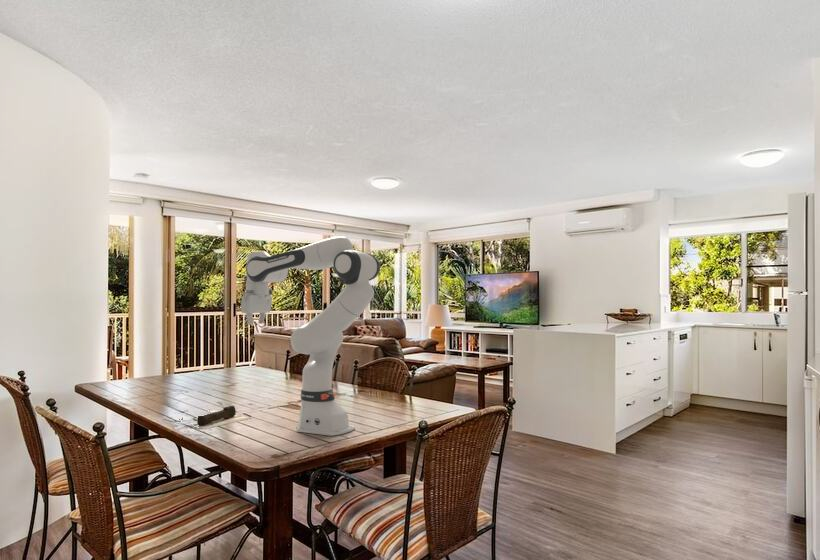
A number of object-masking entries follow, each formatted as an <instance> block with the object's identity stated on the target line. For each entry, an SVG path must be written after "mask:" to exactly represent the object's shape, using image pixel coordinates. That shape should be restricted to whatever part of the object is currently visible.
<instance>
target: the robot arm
mask: <svg viewBox="0 0 820 560" xmlns="http://www.w3.org/2000/svg"><path fill="white" fill-rule="evenodd" d="M330 268H333V269H334V272H335V274H336V275H337V277H339V280H340V282H341V283H342V284H343V285H345V287H344V288H343V290H342V291H341V292H340V293H339V294H338V295H336V297H335V298H334V299H333V300H332V302H330V304H328V305H327V307H326V308H325V309H323V310H322V311H320V313H318V314H317V315H316V316H314V317H313V318H311V319H310V320H308V322H306V323H305V324H303V325H302V326H300V327H298V328H295V329H294V330H293V332H292V333H291V335H290V345H291V347H292V349H293V351H294V352H296V353H298V354H302V355H309V358H308V360H307V363H306V364H305V365H304V367H303V368H302V377H301V378H302V379H301V381H302V384H301V385H302V386H301V387H302V388H301V389H300V400H301V404H300V410H299V418H298V421H297V422H298V423H297V426H296V432H297V433H298V432H299V433H306V434H314V435H315V434H316V435H323V436H328V437H329V436H333V437H334V436H339V435H344V434H346V433H347V434H348V433H350V432H352V431H354V430H355V429H356V426H355V425H353V424H350V422H349V414H348V412H347V410H346V409H344V408H343V407H342V405H340V403H338V402H337V401H336V397H335V396H337V392H335V391H333V388H332V380H333V367H334V362H335V360H336V359H335V358H336V355H337V353H338V350H339V349H340V347H341V346H342V345H343V341H344V334H343V331H346V330H347V329H348V328H350V326H351V325H352V324H353V323H354V322H355V321H356V320H357V319H359V317H360V316H361V314H363V312H364V311H365V310H366V308H368V306H369V305H370V303H371V301H372V299H373V298H374V297H375V291H374V288H373V287H374V286H372V285H371V284H370V281H373V280H374V279H376V278H377V277H378V275H379V274H380V272H381V263H380V262H379V260H378V258H377V257H376V256H374V255H372V254H370V253H368V252H364V251H360V250H355V249H354V247H353V242H351V240H350V239H349V238H348V237H346V236H342V235H341V236H340V235H338V236H332V237H328V238H325V239H320V240H318V241H316V242H313V243H309V244H308V245H305V246H302V247H300V248H299V247H298V248H295V249H293V250H289V251H285V252H282V253H278V254H275V255H274V254H273V255H270V254H269V253H268V252H267V251H264V250H256V251H252V252H249V254H248V255H247V260H246V267H245V273H246V282H245V291H244V293H243V295H242V297H241V303H240V311H241V313H242V314H245V315H246V316H245V317H246V319H247V325H254V319H253V315H254V314H259V319H258V324H259V325H261V324H264V323H265V318H266V315H267V314H266V313H271V310H272V301H273V299H272V296H273V290H272V288H270V286H269V283H277V284H278V283H282V282H284V281H285V280H286V279H287V277H288V275H289V269H301V270H302V269H303V270H310V271H311V270H312V271H319V270H326V269H330Z"/></svg>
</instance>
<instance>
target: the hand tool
mask: <svg viewBox="0 0 820 560" xmlns="http://www.w3.org/2000/svg"><path fill="white" fill-rule="evenodd" d="M235 407H236V406H234V405H229V406H226V407H223V409H221V410H217V411H218V412H215V413H212V414H207V415H204V416H198V418H197V424H198V425H199V426H204V425H205V424H206V425H207V424H208V423H211V422H213V421H217V420H220V419H223V418H224V419H229V418H231V417H233V416H235V415H237V414H236V412H237V411H236V408H235Z"/></svg>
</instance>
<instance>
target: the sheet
mask: <svg viewBox="0 0 820 560" xmlns="http://www.w3.org/2000/svg"><path fill="white" fill-rule="evenodd" d="M207 410H209V411H210V412H211V413H210V414H212V413H215V412H218V411H219V410H214V409H207ZM209 411H208V412H209ZM207 414H209V413H207ZM250 419H252V417H248V416H243V415H241V414H240V415H239V414H235V416H233V417H231V418H229V419H224V418H223V419H220V420H217V421H213V422H211V423H208V424H207V425H206V424H205V425H204V426H198V425H197V426H198V427H199V428H200V430H203V429H204V430H208V429H212V428H215V427H216V426H217V427H220V425H221V426H224V425H229V423H230V424H234V423H238V422H241V421H246V420H250ZM179 420H180V419H179ZM181 420H182V421H183V417H182V419H181ZM182 421H181V424H180V425H183V424H184V423H182ZM217 427H216V428H217ZM199 428H198V429H199ZM207 428H208V429H207Z"/></svg>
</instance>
